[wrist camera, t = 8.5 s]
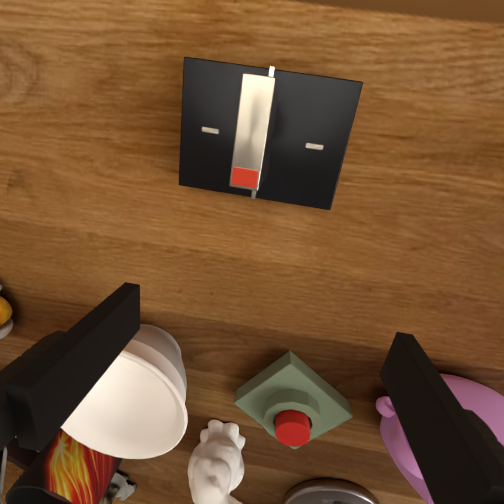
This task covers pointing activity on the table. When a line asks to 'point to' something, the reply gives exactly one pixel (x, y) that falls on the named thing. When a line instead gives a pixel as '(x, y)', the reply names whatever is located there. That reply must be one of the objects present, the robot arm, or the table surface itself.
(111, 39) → the table surface
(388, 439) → the teapot
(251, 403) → the button box
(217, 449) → the rabbit
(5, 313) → the rainbow petal toy
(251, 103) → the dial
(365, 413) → the table surface
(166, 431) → the bowl
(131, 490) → the skull
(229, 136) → the control panel
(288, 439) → the button
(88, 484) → the mug
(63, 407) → the robot arm
